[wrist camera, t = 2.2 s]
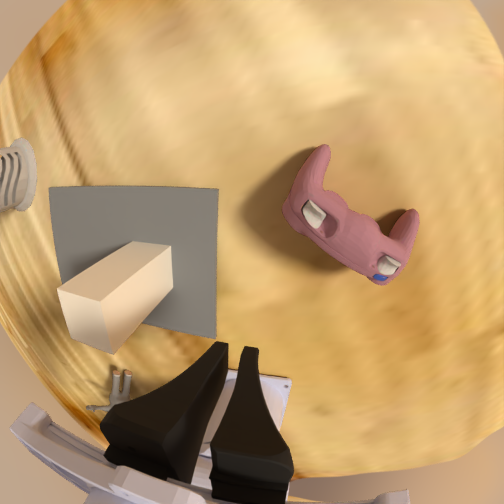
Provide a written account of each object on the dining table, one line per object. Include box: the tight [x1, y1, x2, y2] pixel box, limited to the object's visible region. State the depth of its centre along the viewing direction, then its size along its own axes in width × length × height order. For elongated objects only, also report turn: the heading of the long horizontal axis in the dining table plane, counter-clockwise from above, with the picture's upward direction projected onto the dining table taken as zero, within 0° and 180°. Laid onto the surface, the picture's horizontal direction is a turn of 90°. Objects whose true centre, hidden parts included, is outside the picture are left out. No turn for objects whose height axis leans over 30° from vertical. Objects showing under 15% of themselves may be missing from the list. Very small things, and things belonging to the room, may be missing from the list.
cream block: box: [57, 241, 173, 355], centre depth 19 cm, size 4×4×10 cm
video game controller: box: [282, 144, 419, 285], centre depth 18 cm, size 10×5×7 cm, turn 60°
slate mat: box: [49, 186, 219, 339], centre depth 25 cm, size 14×20×1 cm
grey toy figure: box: [86, 370, 132, 412], centre depth 30 cm, size 10×6×9 cm
